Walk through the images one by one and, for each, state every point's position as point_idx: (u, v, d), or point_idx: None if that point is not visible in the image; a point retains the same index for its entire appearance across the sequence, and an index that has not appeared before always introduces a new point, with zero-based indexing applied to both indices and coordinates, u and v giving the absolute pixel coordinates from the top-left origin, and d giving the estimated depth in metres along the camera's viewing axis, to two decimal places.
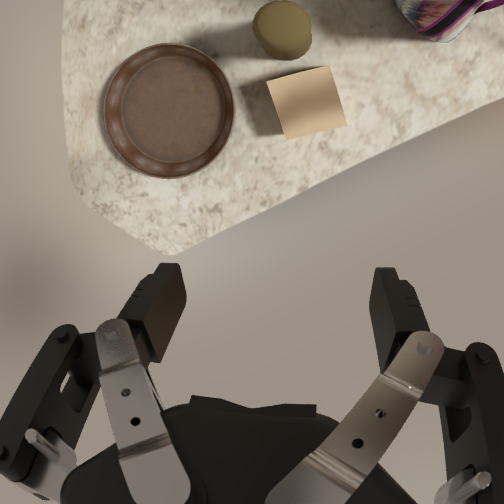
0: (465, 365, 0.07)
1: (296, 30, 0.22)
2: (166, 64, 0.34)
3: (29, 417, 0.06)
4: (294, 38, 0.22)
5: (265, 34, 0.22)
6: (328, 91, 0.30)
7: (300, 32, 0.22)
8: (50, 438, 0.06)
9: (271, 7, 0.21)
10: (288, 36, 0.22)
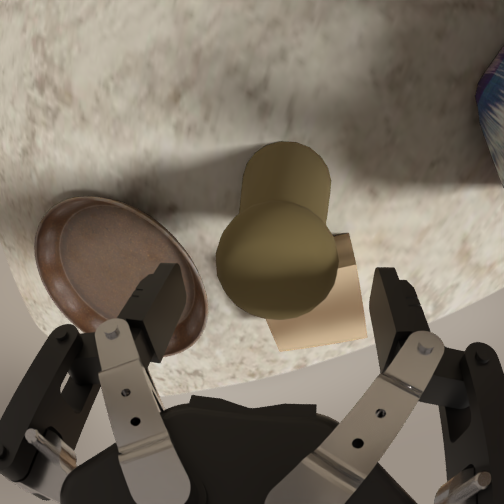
0: (465, 365, 0.07)
1: (306, 300, 0.12)
2: (103, 215, 0.24)
3: (29, 417, 0.06)
4: (300, 312, 0.13)
5: (240, 303, 0.13)
6: (349, 300, 0.21)
7: (313, 302, 0.13)
8: (50, 438, 0.06)
9: (253, 248, 0.12)
10: (288, 310, 0.13)
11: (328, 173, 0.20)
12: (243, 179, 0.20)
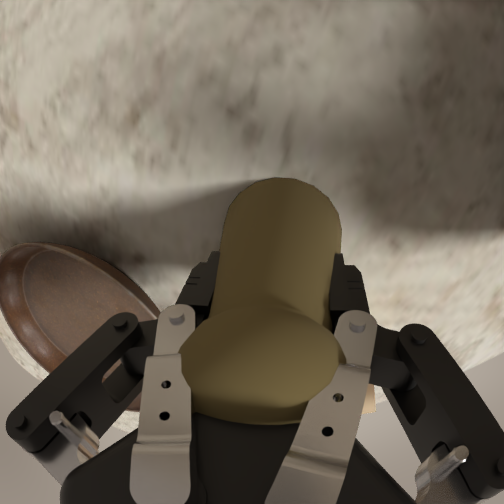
0: (403, 350, 0.08)
1: None
2: (63, 260, 0.19)
3: (60, 399, 0.07)
4: None
5: None
6: None
7: None
8: (76, 423, 0.07)
9: (217, 404, 0.07)
10: None
11: (338, 222, 0.15)
12: (223, 231, 0.15)
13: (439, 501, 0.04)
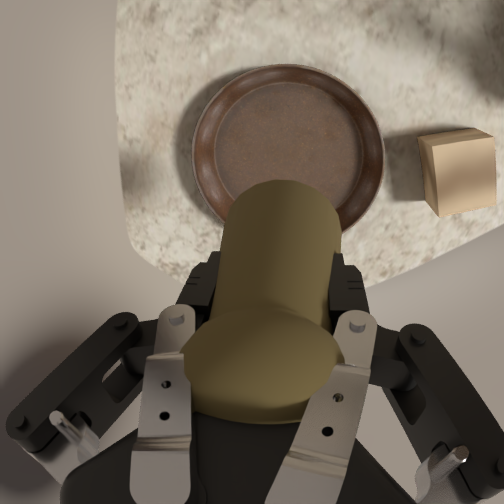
0: (403, 350, 0.08)
1: None
2: (288, 92, 0.26)
3: (60, 399, 0.07)
4: None
5: None
6: (488, 166, 0.23)
7: None
8: (76, 423, 0.07)
9: (218, 406, 0.07)
10: None
11: (338, 223, 0.15)
12: (223, 232, 0.15)
13: (439, 501, 0.04)
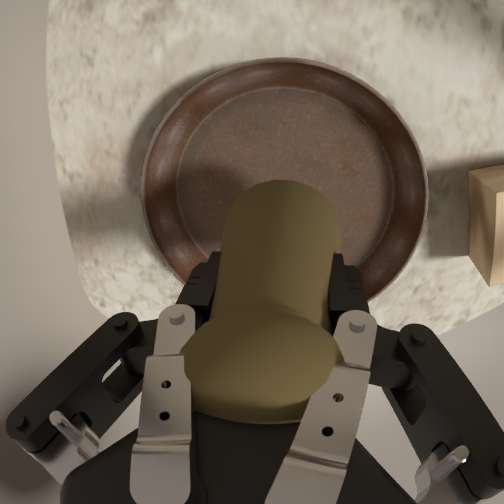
0: (403, 350, 0.08)
1: None
2: (284, 102, 0.17)
3: (60, 399, 0.07)
4: None
5: None
6: None
7: None
8: (76, 423, 0.07)
9: (218, 406, 0.07)
10: None
11: (338, 223, 0.15)
12: (223, 232, 0.15)
13: (439, 501, 0.04)
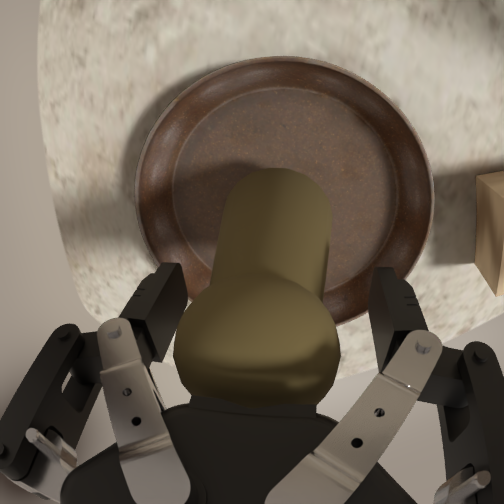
0: (463, 364, 0.07)
1: None
2: (284, 103, 0.16)
3: (30, 416, 0.06)
4: None
5: None
6: None
7: None
8: (51, 437, 0.06)
9: (215, 357, 0.08)
10: None
11: (329, 207, 0.16)
12: (222, 217, 0.16)
13: None
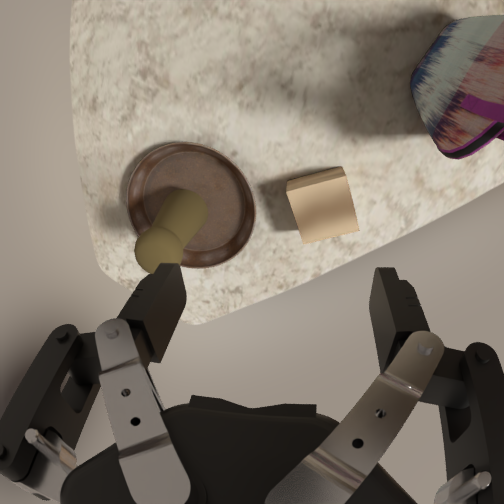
0: (465, 365, 0.07)
1: None
2: (186, 159, 0.39)
3: (29, 417, 0.06)
4: None
5: (142, 267, 0.32)
6: (344, 200, 0.35)
7: None
8: (50, 438, 0.06)
9: (143, 246, 0.30)
10: None
11: (204, 206, 0.39)
12: None
13: None
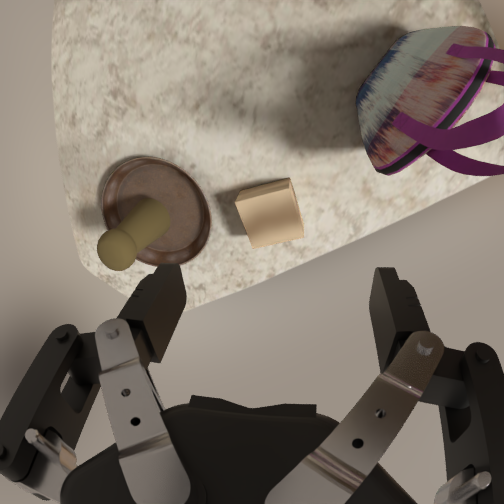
0: (465, 365, 0.07)
1: (118, 264, 0.35)
2: (151, 170, 0.43)
3: (29, 417, 0.06)
4: (118, 268, 0.36)
5: (102, 260, 0.36)
6: (288, 210, 0.39)
7: (121, 265, 0.35)
8: (50, 438, 0.06)
9: (103, 243, 0.34)
10: (114, 266, 0.36)
11: (167, 216, 0.43)
12: None
13: None
